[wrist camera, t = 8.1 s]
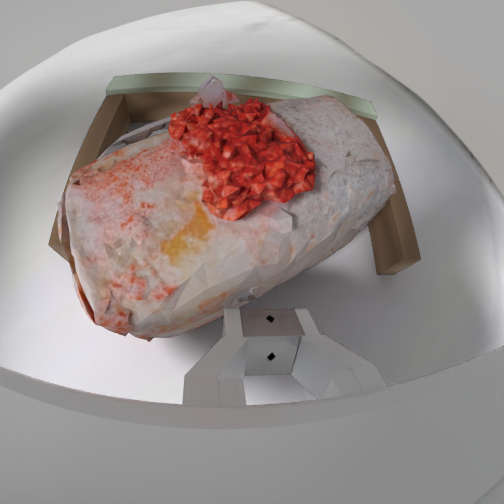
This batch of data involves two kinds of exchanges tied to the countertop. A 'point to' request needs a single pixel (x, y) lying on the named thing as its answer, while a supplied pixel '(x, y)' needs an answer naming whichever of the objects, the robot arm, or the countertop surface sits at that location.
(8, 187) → the countertop surface
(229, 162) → the food item
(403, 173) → the countertop surface
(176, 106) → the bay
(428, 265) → the countertop surface
